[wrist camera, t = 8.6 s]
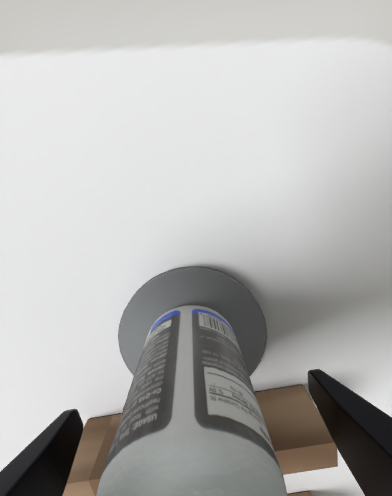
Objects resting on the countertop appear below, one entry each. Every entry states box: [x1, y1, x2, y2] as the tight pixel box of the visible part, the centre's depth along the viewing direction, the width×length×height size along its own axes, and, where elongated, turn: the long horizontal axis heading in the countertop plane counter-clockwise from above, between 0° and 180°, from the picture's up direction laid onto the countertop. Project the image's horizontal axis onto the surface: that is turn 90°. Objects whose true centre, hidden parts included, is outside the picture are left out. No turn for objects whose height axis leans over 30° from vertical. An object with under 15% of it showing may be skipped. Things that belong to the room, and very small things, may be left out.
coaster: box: [118, 267, 267, 376], centre depth 11 cm, size 8×8×1 cm
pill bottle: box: [96, 305, 287, 496], centre depth 7 cm, size 5×5×8 cm
